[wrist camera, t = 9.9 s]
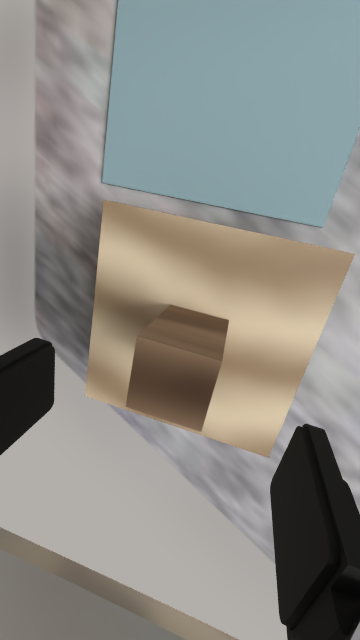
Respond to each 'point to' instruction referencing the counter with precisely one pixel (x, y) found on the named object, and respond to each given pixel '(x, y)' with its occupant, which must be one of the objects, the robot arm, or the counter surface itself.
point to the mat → (235, 102)
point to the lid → (206, 322)
